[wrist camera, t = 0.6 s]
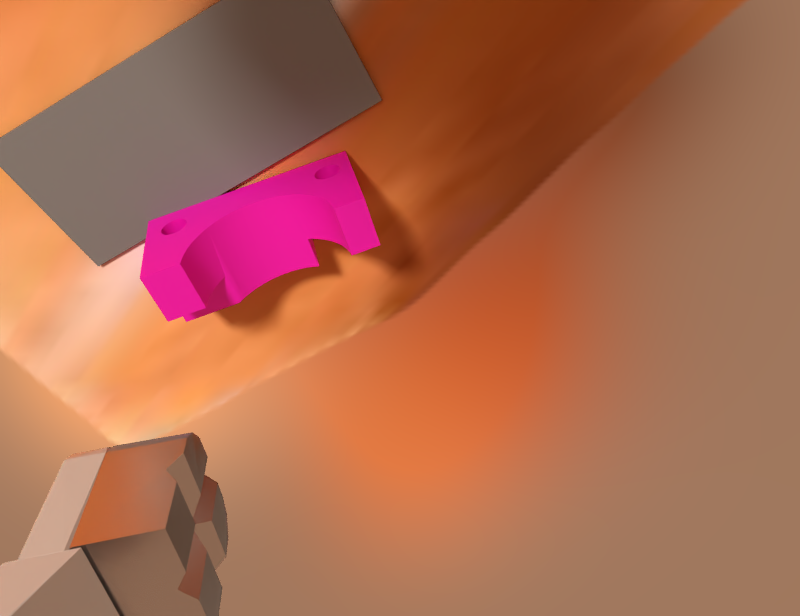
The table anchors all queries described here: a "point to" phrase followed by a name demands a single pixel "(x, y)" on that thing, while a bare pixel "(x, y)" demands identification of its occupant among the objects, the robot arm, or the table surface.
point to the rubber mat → (188, 118)
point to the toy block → (252, 237)
